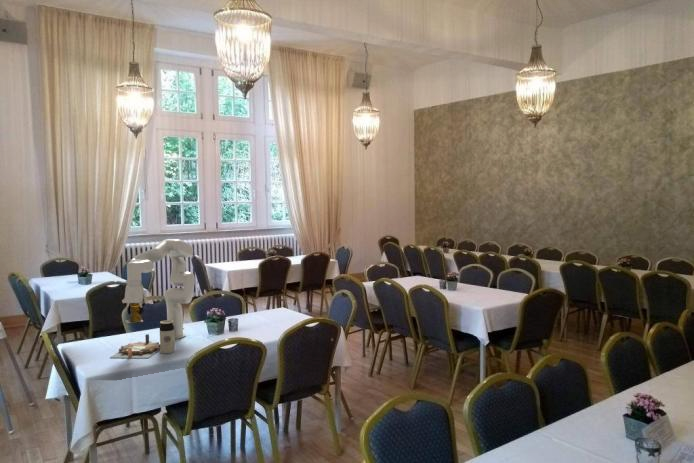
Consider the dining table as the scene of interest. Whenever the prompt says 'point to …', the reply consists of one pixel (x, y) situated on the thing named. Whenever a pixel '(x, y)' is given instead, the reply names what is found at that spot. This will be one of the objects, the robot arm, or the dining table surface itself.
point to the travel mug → (167, 337)
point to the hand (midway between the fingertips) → (135, 313)
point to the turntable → (141, 347)
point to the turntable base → (130, 355)
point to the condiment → (135, 313)
